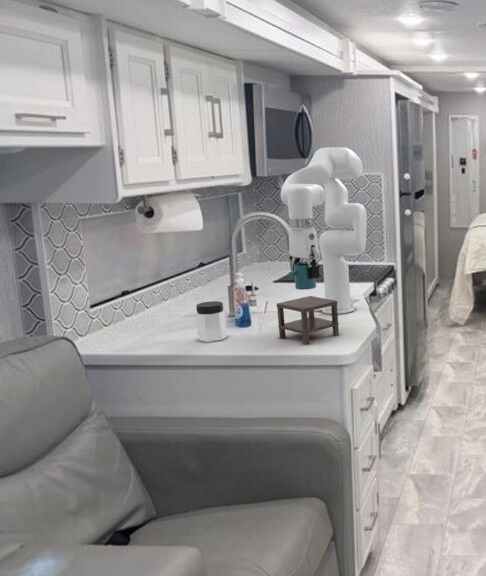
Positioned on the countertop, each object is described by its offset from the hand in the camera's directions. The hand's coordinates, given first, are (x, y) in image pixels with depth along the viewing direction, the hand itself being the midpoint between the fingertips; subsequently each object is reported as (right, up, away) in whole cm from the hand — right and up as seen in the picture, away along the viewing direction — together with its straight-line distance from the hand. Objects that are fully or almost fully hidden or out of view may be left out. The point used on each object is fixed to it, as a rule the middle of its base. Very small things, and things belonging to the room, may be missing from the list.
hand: (305, 276), depth 223 cm
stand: (0, -20, +4) cm, 21 cm away
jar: (-32, -21, +2) cm, 38 cm away
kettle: (0, -4, +1) cm, 4 cm away
